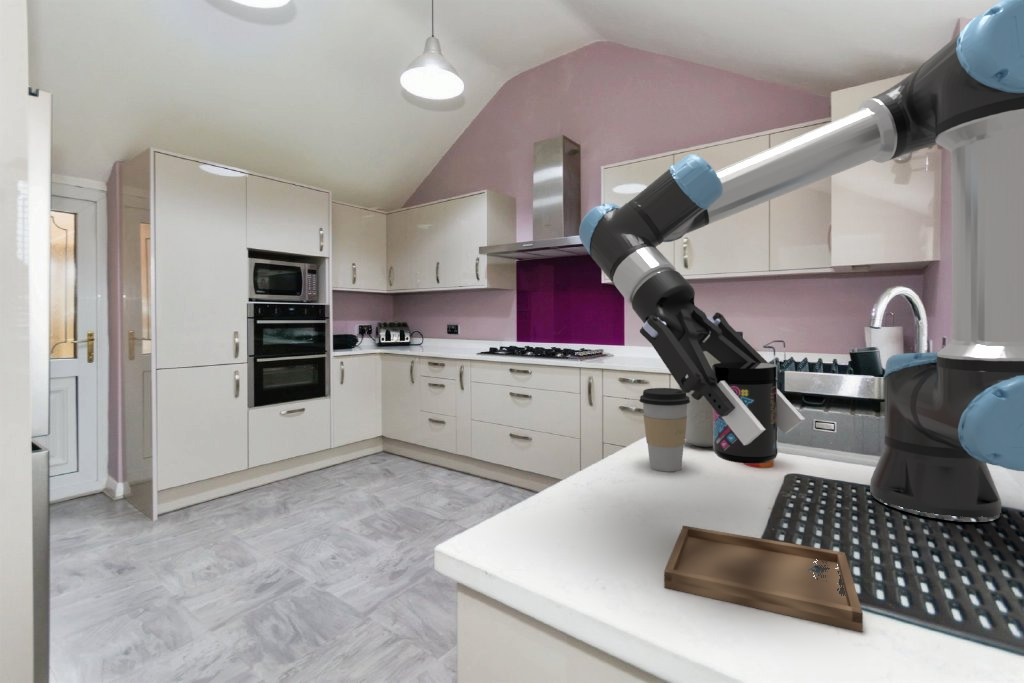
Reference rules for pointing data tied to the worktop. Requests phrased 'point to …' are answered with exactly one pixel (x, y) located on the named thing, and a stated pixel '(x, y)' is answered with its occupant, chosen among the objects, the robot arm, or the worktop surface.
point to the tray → (764, 576)
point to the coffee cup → (665, 426)
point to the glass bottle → (700, 415)
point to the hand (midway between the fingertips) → (775, 431)
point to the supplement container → (761, 399)
